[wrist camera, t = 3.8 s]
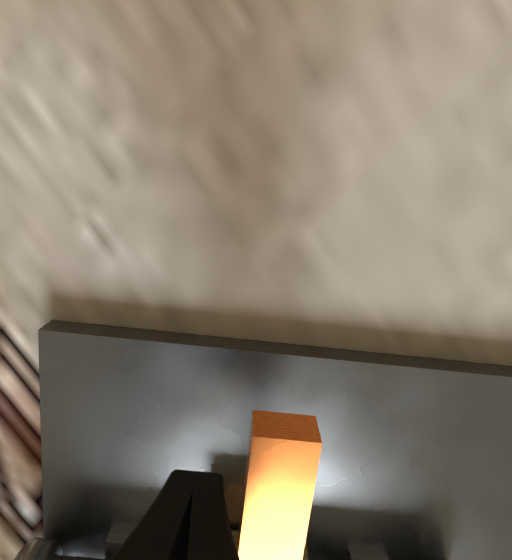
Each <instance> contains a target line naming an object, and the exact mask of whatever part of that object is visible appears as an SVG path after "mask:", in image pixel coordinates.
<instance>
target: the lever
mask: <svg viewBox="0 0 512 560" xmlns="http://www.w3.org/2000/svg"><path fill="white" fill-rule="evenodd" d="M321 447H322V440H321V436H320V432H319V428H318V424H317V420H316V416H312V415H302V414H291V413H281V412H270V411H260V410H253V413H252V422H251V430H250V438H249V447H248V455H247V463H246V472H245V480H244V489H243V497H242V505H241V514H240V522H239V530H238V539H237V547H236V549H237V553H238V556H239V559H240V560H302V559H303V553H304V547H305V541H306V535H307V529H308V524H309V518H310V512H311V506H312V500H313V494H314V488H315V482H316V477H317V471H318V465H319V459H320V453H321Z"/></svg>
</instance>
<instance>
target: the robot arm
mask: <svg viewBox="0 0 512 560" xmlns="http://www.w3.org/2000/svg"><path fill="white" fill-rule="evenodd" d="M223 479H224V477H223V476H222V475H221V474H220V473H212V472H201V471H190V470H179V469H175V470H174V471H172V472H171V473H170V475H169V477H168V479H167V481H166V483H165V484H164V486H163V488H162V489H161V491H160V493H159V494H158V496H157V497H156V499H155V500H154V502H153V503H152V505H151V506H150V508H149V509H148V510H147V512H146V513H145V515H144V516H143V517H142V519H141V520H140V522H139V523H138V524H137V526H136V527H135V528H134V530H133V531H132V532H131V534H130V535H129V536H128V537H127V539H126V540H125V541H124V542H123V544H122V545H121V546H120V547H119V549H118V550H117V551H116V552H115V553H114V555H113V556H112V557H111V558H110V559H109V560H240V559H239V556H238V553H237V549H236V546H235V542H234V539H233V535H232V531H231V527H230V523H229V519H228V514H227V509H226V503H225V497H224V486H223Z"/></svg>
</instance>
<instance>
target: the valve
mask: <svg viewBox="0 0 512 560" xmlns="http://www.w3.org/2000/svg"><path fill="white" fill-rule="evenodd" d="M38 332H39V373H40V415H41V456H42V497H43V538H33V539H31V540H30V541H28V542H27V543H26V544H25V545H24V547H23V548H22V549H21V550H20V552H19V553H18V555H17V556H16V558H15V559H14V560H109V559H110V558H111V557H112V556H113V555H114V553H115V552H116V551H117V550H118V549H119V547H120V546H121V545H122V544H123V542H124V541H125V540H126V539H127V537H128V536H129V535H130V534H131V532H132V531H133V530H134V528H135V527H136V526H137V524H138V523H139V522H140V520H141V519H142V517H143V516H144V515H145V513H146V512H147V510H148V509H149V508H150V506H151V505H152V503H153V502H154V500H155V499H156V497H157V496H158V494H159V493H160V491H161V489H162V488H163V486H164V484H165V483H166V481H167V479H168V477H169V475H170V473H171V472H172V471H174V470H175V469H179V470H190V471H201V472H212V473H220V474H221V475H222V476H223V477H224V479H223V486H224V497H225V503H226V509H227V514H228V519H229V523H230V527H231V531H232V535H233V539H234V542H235V546H236V547H237V539H238V530H239V522H240V514H241V505H242V497H243V489H244V480H245V472H246V463H247V455H248V447H249V438H250V430H251V422H252V413H253V410H260V411H270V412H281V413H291V414H302V415H312V416H316V420H317V424H318V428H319V432H320V436H321V440H322V447H321V453H320V459H319V465H318V471H317V477H316V482H315V488H314V494H313V500H312V506H311V512H310V518H309V524H308V529H307V535H306V541H305V547H304V553H303V559H302V560H512V367H511V366H501V365H491V364H481V363H471V362H461V361H451V360H441V359H431V358H421V357H411V356H401V355H392V354H382V353H372V352H362V351H352V350H342V349H332V348H322V347H312V346H302V345H292V344H282V343H272V342H262V341H253V340H243V339H233V338H223V337H213V336H203V335H193V334H183V333H173V332H163V331H153V330H143V329H133V328H124V327H114V326H104V325H94V324H84V323H74V322H64V321H54V320H51V321H50V322H49V323H47V324H46V325H44V326H43V327H42V328H40V329H39V330H38Z"/></svg>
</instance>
